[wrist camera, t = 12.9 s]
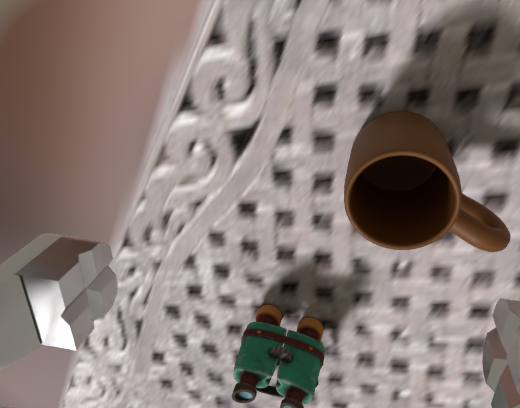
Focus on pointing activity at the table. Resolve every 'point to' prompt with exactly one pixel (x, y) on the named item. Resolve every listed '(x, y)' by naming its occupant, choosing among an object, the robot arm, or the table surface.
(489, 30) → the table surface
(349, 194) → the mug
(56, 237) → the robot arm
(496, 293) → the table surface
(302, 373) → the binoculars
